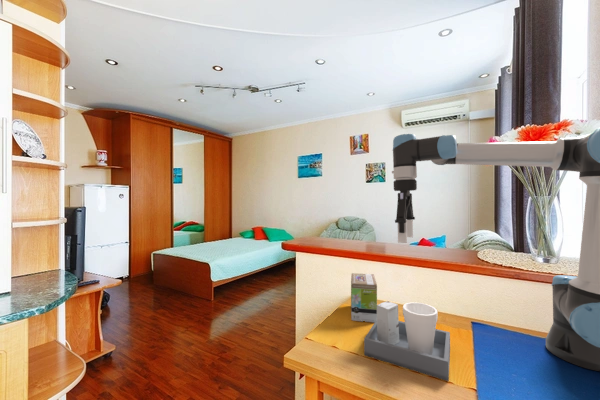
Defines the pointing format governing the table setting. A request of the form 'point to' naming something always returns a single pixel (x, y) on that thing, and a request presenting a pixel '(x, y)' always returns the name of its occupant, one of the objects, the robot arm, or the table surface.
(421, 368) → the tote
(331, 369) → the table surface
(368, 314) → the tea box
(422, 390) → the table surface
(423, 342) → the foam cup
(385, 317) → the skincare box
